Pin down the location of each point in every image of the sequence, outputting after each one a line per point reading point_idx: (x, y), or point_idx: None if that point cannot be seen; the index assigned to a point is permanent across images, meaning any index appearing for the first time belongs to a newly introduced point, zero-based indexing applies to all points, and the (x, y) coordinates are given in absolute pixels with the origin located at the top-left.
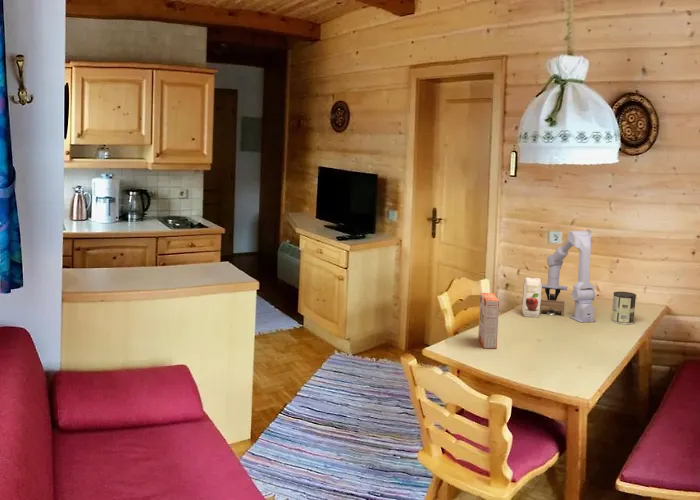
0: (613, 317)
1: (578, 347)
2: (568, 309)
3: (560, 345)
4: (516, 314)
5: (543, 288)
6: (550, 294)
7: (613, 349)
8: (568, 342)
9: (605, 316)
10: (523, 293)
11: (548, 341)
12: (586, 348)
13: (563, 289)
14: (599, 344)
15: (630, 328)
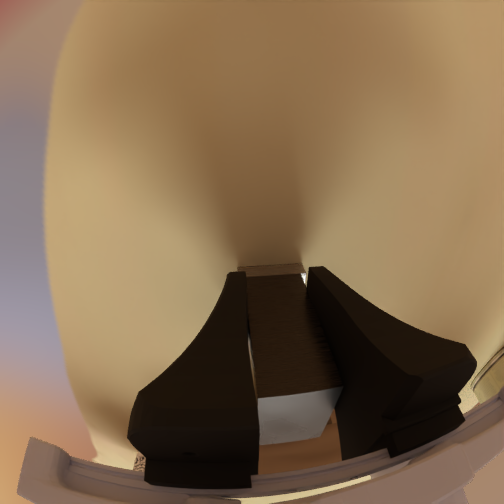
0: (478, 395)
1: (304, 496)
2: (403, 309)
3: (276, 500)
4: (123, 449)
5: (131, 477)
6: (267, 429)
7: (357, 483)
8: (291, 496)
9: (496, 337)
10: None
11: (256, 500)
12: (315, 494)
13: (477, 423)
14: (344, 484)
15: (469, 403)
